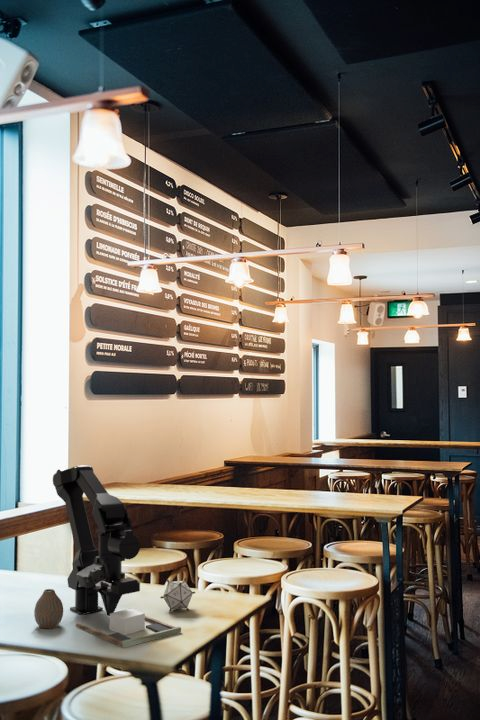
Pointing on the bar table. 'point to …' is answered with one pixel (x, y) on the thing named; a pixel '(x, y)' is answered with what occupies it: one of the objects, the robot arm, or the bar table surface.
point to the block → (127, 621)
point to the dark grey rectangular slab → (153, 627)
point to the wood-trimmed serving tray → (136, 640)
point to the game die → (177, 595)
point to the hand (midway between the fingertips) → (109, 615)
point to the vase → (48, 610)
